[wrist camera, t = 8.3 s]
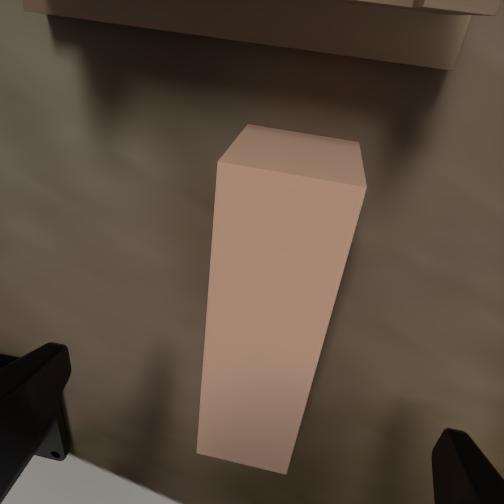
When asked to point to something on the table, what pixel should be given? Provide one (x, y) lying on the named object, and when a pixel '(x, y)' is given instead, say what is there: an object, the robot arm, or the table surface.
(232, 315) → the pinkish tan rectangular block
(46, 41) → the table surface
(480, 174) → the table surface
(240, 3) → the tan two-rail tray
